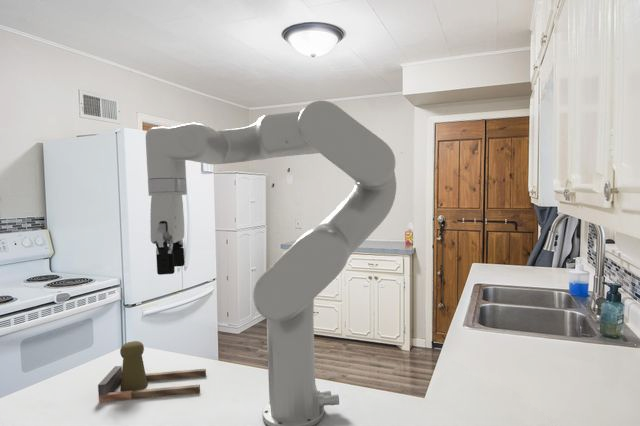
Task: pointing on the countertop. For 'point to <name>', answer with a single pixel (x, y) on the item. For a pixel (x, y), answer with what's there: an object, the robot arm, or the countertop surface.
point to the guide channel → (114, 380)
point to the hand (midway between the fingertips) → (171, 269)
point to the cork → (133, 367)
